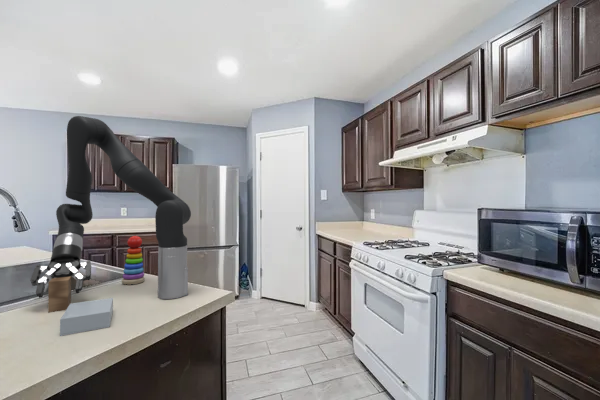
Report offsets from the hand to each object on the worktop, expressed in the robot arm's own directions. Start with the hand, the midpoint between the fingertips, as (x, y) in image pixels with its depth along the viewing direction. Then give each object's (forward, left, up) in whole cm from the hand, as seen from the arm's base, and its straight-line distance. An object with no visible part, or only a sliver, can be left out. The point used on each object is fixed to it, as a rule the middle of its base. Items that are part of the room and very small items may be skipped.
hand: (59, 294), depth 84 cm
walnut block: (0, -1, -5) cm, 5 cm away
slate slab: (-9, +15, -5) cm, 18 cm away
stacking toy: (-19, -22, -5) cm, 30 cm away
